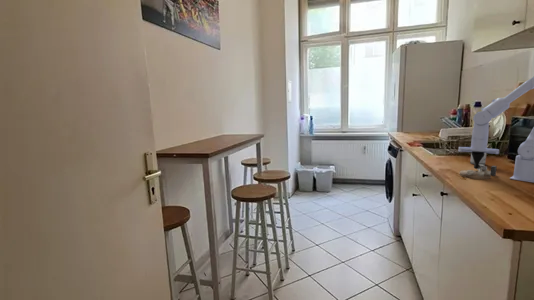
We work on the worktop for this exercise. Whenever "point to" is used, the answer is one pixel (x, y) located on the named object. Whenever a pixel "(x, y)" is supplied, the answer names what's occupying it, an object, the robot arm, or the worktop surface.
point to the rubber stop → (493, 170)
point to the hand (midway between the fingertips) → (475, 168)
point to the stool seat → (476, 174)
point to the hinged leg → (481, 167)
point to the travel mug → (482, 158)
